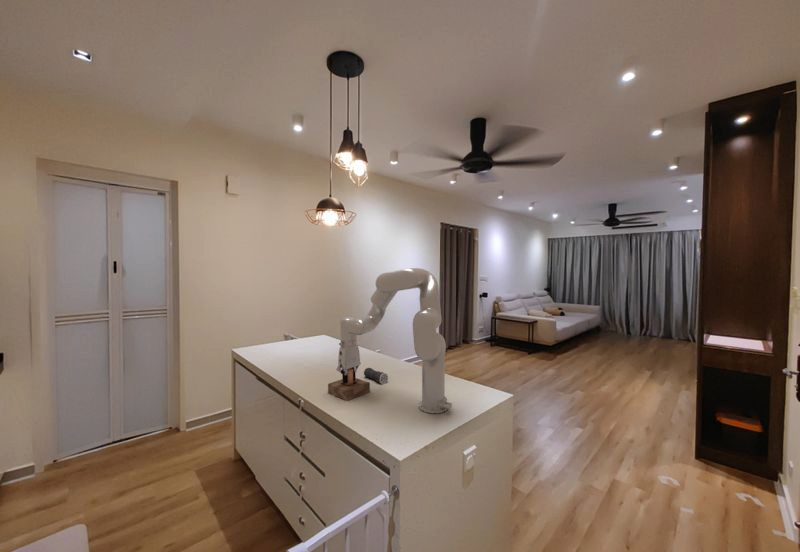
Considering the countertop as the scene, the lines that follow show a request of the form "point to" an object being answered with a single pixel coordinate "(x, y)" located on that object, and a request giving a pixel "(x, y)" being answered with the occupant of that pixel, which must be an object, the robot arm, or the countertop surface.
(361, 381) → the walnut block
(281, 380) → the countertop surface
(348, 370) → the pin
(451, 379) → the countertop surface
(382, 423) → the countertop surface
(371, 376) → the flashlight
